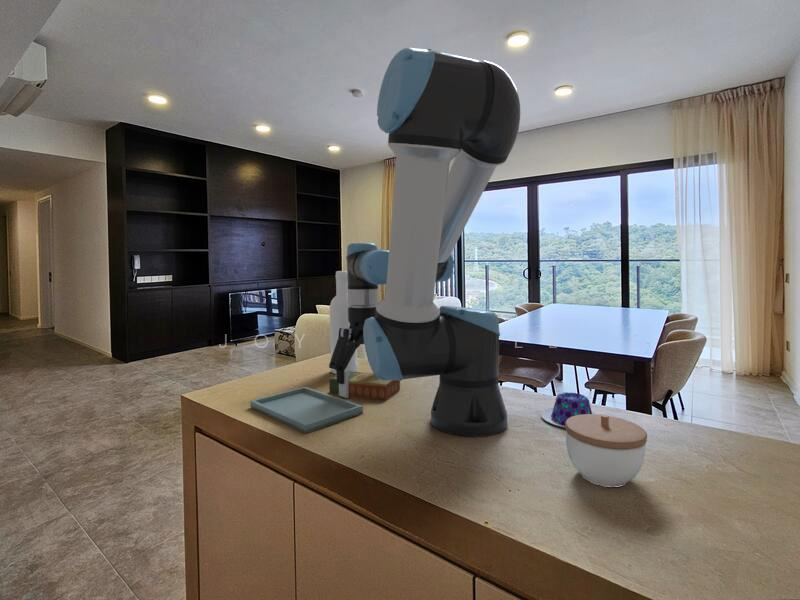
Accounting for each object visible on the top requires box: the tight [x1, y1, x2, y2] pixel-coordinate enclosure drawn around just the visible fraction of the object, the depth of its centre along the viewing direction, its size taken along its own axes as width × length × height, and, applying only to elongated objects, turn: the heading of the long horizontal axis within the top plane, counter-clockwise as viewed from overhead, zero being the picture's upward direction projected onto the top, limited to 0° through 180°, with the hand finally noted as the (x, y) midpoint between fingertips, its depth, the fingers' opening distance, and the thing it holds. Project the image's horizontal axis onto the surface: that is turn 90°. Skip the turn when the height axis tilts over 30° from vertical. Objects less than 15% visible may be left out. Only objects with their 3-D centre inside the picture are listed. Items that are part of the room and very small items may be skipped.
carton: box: [328, 371, 401, 401], centre depth 105 cm, size 8×16×4 cm, turn 67°
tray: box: [249, 386, 364, 434], centre depth 91 cm, size 22×14×2 cm
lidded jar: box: [564, 413, 648, 487], centre depth 61 cm, size 11×11×9 cm
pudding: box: [540, 392, 595, 428], centre depth 84 cm, size 12×12×5 cm
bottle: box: [329, 270, 358, 375], centre depth 123 cm, size 8×8×30 cm
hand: (364, 390), depth 105 cm, fingers open, 13 cm apart
